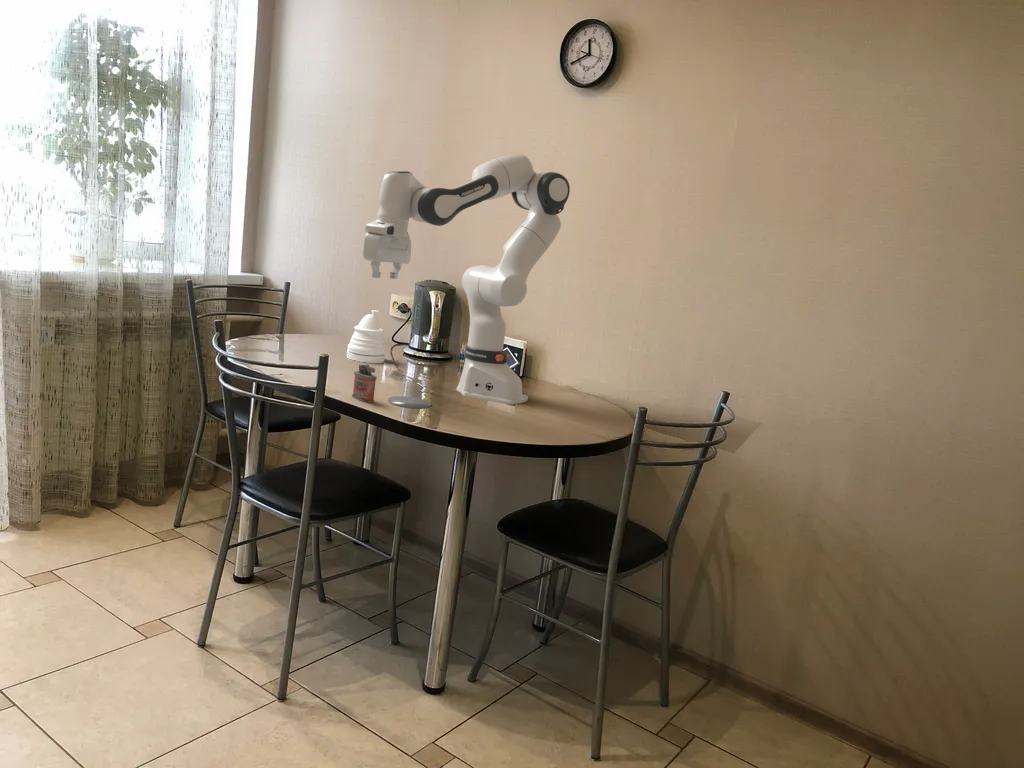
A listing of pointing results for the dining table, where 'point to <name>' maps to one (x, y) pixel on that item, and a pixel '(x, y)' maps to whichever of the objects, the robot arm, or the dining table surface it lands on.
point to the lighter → (364, 384)
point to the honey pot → (367, 341)
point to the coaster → (409, 402)
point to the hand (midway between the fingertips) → (384, 278)
